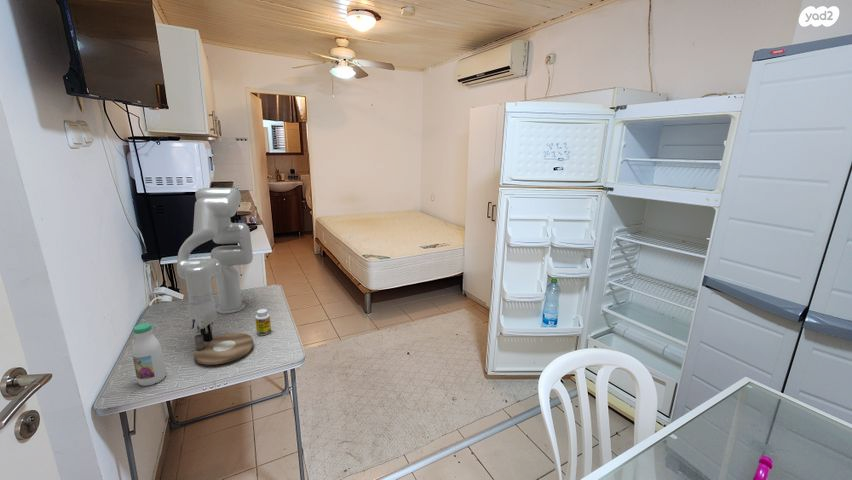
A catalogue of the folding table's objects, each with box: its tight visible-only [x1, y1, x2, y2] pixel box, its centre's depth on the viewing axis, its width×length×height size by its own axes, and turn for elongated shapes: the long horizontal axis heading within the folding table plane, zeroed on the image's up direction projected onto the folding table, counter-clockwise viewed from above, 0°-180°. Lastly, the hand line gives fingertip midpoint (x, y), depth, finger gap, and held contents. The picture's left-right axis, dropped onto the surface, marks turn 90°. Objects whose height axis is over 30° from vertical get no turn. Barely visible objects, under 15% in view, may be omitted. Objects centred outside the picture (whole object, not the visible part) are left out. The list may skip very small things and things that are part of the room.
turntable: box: [193, 332, 254, 366], centre depth 135 cm, size 20×20×7 cm
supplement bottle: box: [254, 308, 272, 336], centre depth 150 cm, size 6×6×10 cm
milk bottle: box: [131, 322, 167, 387], centre depth 117 cm, size 8×8×20 cm
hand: (207, 340), depth 137 cm, fingers closed
